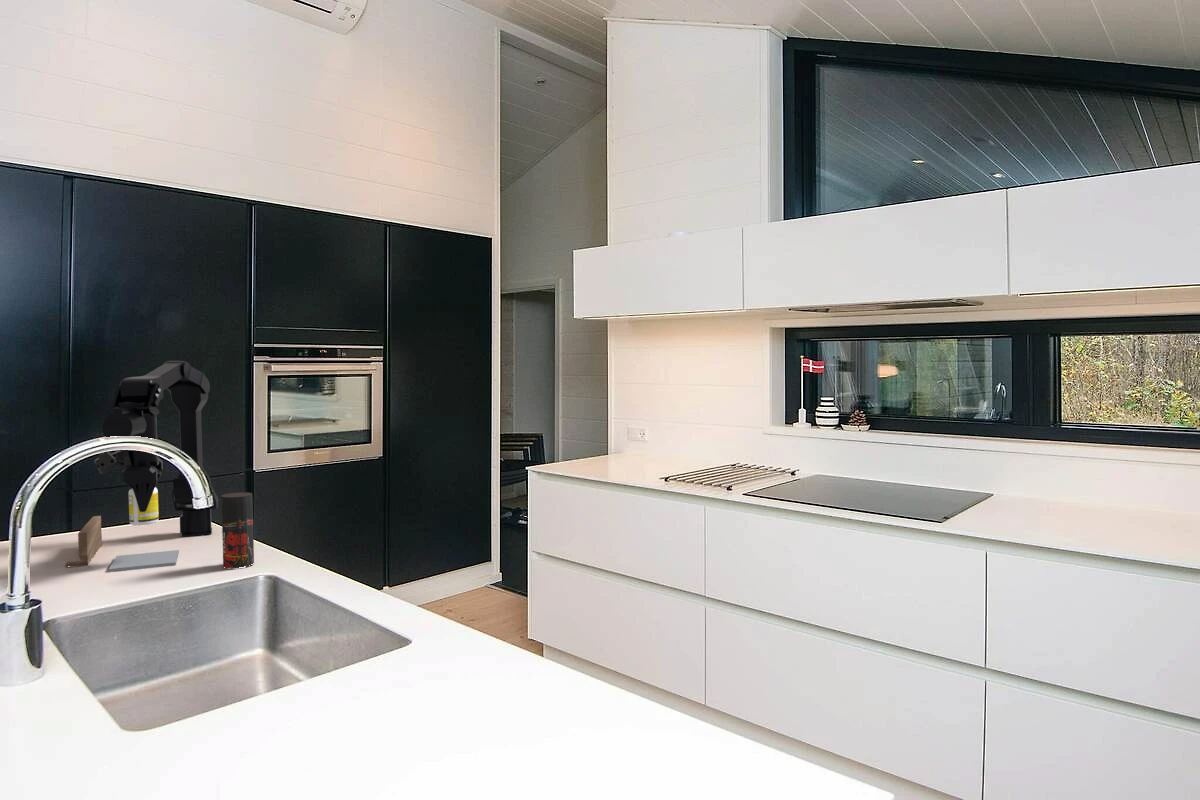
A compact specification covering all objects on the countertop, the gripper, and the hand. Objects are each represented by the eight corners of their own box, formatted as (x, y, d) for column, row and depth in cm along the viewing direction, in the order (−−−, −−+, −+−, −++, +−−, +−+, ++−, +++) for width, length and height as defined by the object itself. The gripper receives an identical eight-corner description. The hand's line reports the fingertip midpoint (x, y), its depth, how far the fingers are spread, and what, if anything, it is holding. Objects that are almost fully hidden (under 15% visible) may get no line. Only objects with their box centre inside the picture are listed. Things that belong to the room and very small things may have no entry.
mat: (179, 552, 172) (179, 549, 172) (175, 565, 161) (175, 562, 161) (116, 558, 167) (116, 555, 167) (108, 571, 156) (108, 569, 156)
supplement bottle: (164, 520, 166) (163, 476, 166) (147, 526, 161) (145, 480, 160) (141, 520, 167) (139, 475, 166) (123, 525, 162) (121, 479, 161)
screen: (102, 545, 179) (101, 515, 179) (88, 565, 161) (86, 532, 161) (81, 546, 178) (80, 517, 177) (65, 567, 160) (64, 534, 159)
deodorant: (216, 566, 160) (215, 495, 159) (241, 560, 165) (240, 491, 165) (235, 570, 157) (233, 498, 157) (260, 563, 163) (258, 493, 162)
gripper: (103, 434, 168) (106, 504, 169) (89, 443, 151) (92, 521, 152) (161, 432, 173) (164, 500, 174) (154, 440, 156) (157, 515, 157)
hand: (144, 509), depth 164 cm, fingers closed on supplement bottle, 5 cm apart
